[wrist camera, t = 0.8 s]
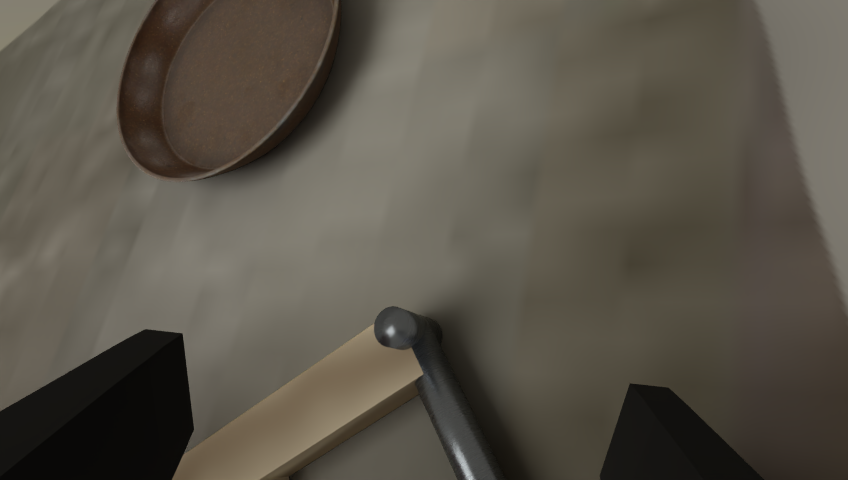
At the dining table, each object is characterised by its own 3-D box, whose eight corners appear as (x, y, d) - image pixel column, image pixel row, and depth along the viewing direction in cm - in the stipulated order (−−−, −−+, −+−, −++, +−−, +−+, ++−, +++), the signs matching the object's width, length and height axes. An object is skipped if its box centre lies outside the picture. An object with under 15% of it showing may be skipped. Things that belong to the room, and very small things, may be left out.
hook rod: (609, 664, 18) (591, 704, 15) (566, 682, 18) (542, 725, 15) (432, 311, 24) (399, 298, 22) (404, 330, 25) (368, 320, 22)
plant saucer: (421, 17, 30) (394, -21, 27) (220, 255, 32) (176, 240, 29) (275, -80, 39) (244, -116, 37) (125, 108, 41) (86, 87, 38)
